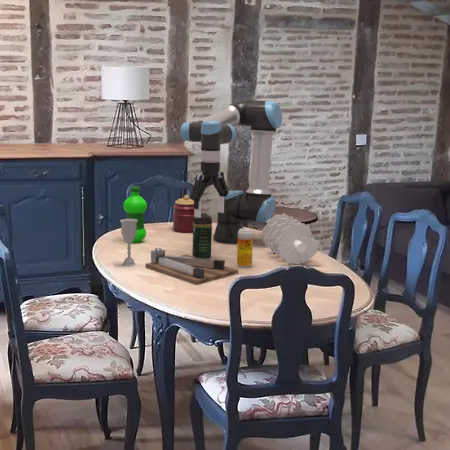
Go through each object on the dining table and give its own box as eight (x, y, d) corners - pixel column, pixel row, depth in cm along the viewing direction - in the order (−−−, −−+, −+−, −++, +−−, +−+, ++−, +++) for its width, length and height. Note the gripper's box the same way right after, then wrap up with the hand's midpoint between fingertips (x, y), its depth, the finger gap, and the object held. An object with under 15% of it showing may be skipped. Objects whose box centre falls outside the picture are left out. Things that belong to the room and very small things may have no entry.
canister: (199, 233, 333) (199, 197, 329) (172, 233, 333) (172, 197, 329) (199, 227, 346) (200, 192, 342) (173, 227, 345) (173, 192, 342)
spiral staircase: (289, 276, 281) (268, 257, 304) (326, 256, 283) (302, 239, 306) (273, 238, 274) (253, 222, 297) (311, 218, 277) (288, 203, 300)
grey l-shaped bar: (151, 263, 275) (151, 248, 274) (160, 260, 279) (160, 247, 277) (199, 279, 256) (200, 264, 255) (209, 276, 259) (209, 261, 258)
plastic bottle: (147, 244, 311) (147, 189, 305) (123, 244, 309) (123, 189, 304) (146, 238, 321) (146, 185, 315) (123, 239, 319) (123, 185, 313)
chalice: (129, 267, 274) (129, 223, 270) (116, 264, 277) (116, 221, 273) (141, 263, 280) (141, 220, 276) (128, 260, 283) (128, 218, 279)
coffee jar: (212, 259, 288) (213, 216, 284) (193, 260, 286) (194, 216, 282) (209, 253, 297) (210, 211, 293) (191, 254, 296) (191, 211, 292)
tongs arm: (165, 263, 274) (165, 256, 273) (166, 262, 276) (166, 254, 275) (223, 269, 268) (223, 261, 268) (224, 267, 270) (224, 260, 270)
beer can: (241, 268, 276) (242, 232, 273) (234, 264, 281) (235, 228, 278) (254, 266, 279) (255, 230, 276) (247, 262, 284) (248, 227, 281)
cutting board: (186, 257, 290) (186, 254, 289) (238, 273, 269) (238, 269, 269) (145, 267, 274) (145, 263, 274) (196, 284, 254) (196, 280, 253)
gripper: (224, 157, 279) (222, 209, 284) (181, 162, 260) (180, 217, 265) (238, 159, 274) (236, 211, 279) (195, 164, 256) (194, 220, 260)
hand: (209, 214), depth 272 cm, fingers open, 13 cm apart
